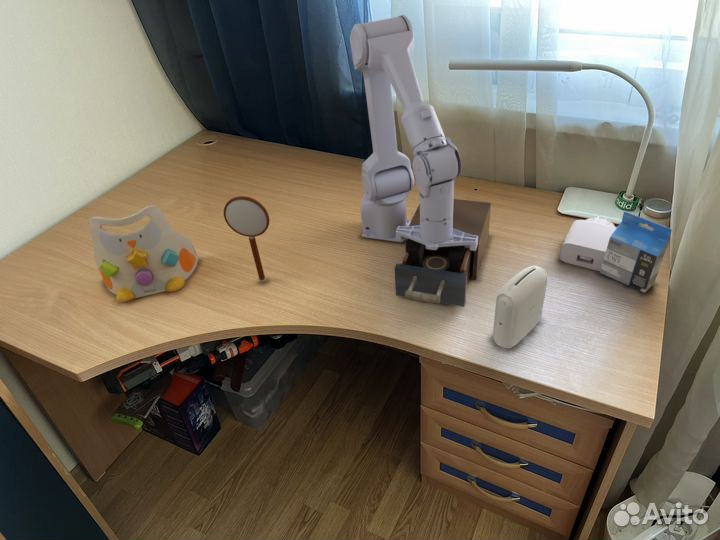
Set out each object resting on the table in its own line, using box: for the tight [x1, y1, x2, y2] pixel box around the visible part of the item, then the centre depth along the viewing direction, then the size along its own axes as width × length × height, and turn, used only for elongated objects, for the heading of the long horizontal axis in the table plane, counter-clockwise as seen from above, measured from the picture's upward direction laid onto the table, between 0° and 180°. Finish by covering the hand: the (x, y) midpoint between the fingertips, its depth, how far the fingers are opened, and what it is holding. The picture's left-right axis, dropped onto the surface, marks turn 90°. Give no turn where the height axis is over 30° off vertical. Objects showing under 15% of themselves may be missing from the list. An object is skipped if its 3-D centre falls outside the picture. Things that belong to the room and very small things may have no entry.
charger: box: [559, 215, 617, 272], centre depth 108 cm, size 5×9×15 cm
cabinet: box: [404, 198, 492, 281], centre depth 109 cm, size 15×14×9 cm
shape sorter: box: [88, 204, 199, 303], centre depth 106 cm, size 20×10×18 cm, turn 105°
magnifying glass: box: [223, 195, 270, 283], centre depth 103 cm, size 9×2×20 cm, turn 80°
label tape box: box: [599, 210, 673, 293], centre depth 97 cm, size 9×4×12 cm, turn 42°
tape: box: [422, 255, 449, 271], centre depth 101 cm, size 5×5×4 cm
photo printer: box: [492, 264, 549, 349], centre depth 89 cm, size 10×4×12 cm, turn 133°
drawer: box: [393, 245, 474, 308], centre depth 100 cm, size 19×13×7 cm
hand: (435, 273), depth 101 cm, fingers closed on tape, 5 cm apart
